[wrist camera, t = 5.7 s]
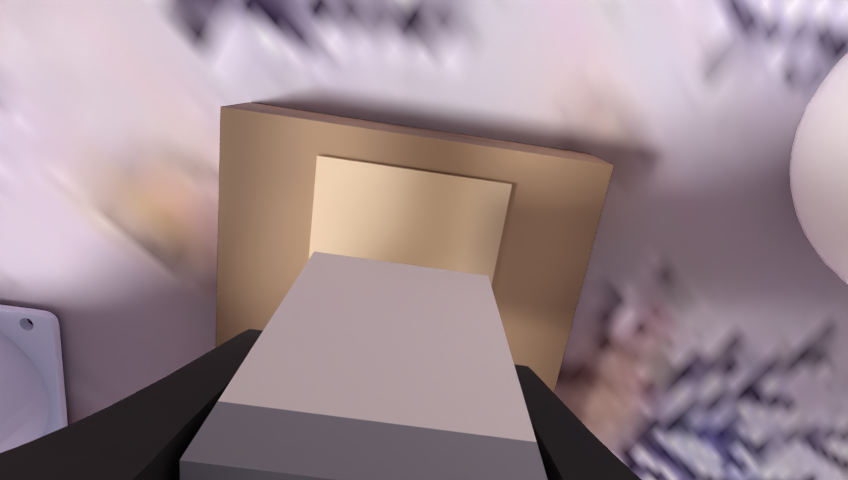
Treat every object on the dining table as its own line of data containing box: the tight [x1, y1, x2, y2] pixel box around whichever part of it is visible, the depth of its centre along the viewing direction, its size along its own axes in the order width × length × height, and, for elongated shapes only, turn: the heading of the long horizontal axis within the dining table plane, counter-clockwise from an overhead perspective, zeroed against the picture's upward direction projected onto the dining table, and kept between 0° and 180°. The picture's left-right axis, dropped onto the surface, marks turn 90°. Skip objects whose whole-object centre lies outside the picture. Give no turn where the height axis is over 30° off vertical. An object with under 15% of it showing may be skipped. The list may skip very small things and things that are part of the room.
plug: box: [180, 251, 548, 480], centre depth 9 cm, size 4×4×6 cm
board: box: [216, 103, 614, 393], centre depth 19 cm, size 12×18×3 cm, turn 172°
